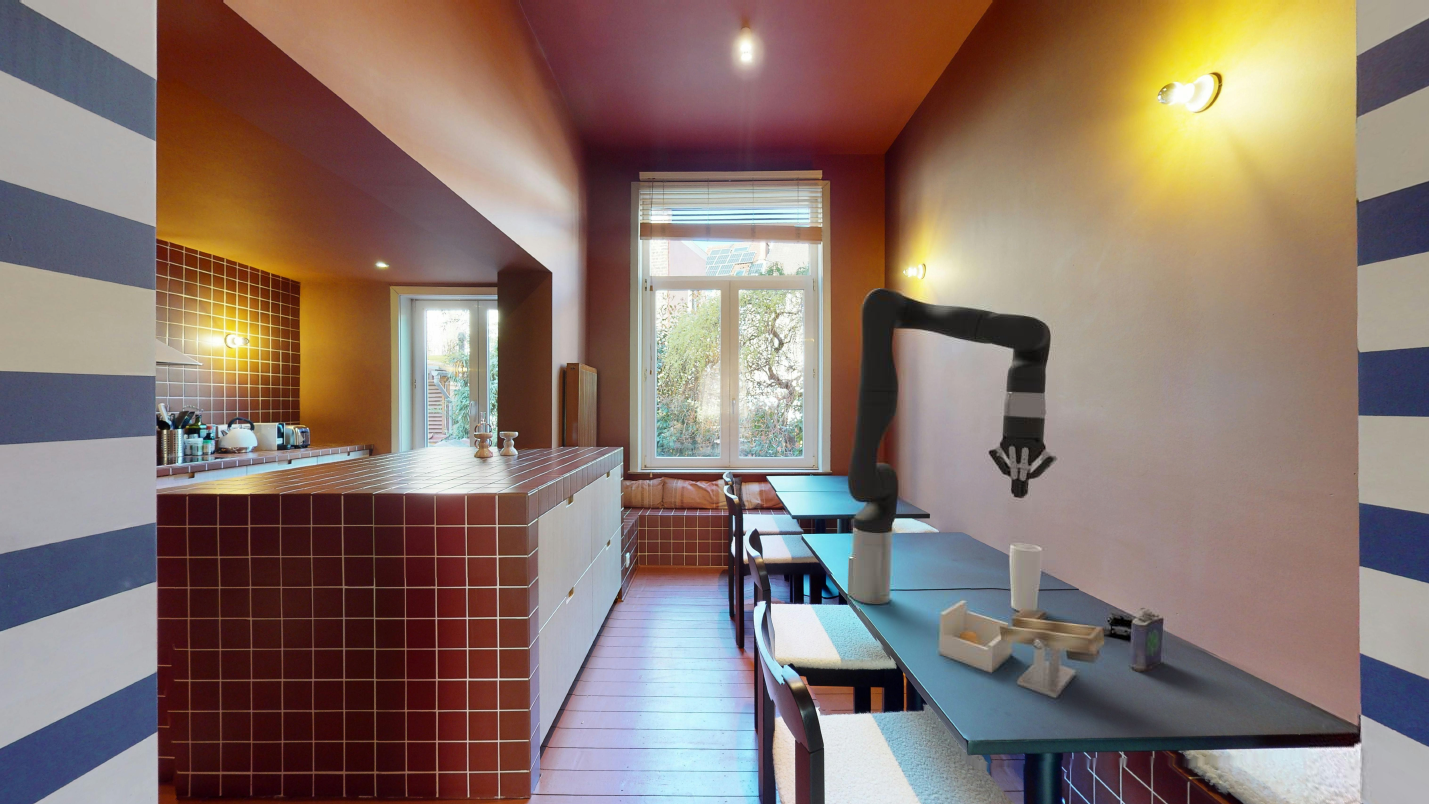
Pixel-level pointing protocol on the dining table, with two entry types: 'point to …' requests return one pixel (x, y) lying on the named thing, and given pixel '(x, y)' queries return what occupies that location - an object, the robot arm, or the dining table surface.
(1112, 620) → the black blocky device
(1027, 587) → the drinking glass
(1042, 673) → the stand
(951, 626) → the white open bin
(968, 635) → the ball
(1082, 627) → the chute
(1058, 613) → the dining table surface
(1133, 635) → the flask
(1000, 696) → the dining table surface
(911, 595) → the dining table surface
